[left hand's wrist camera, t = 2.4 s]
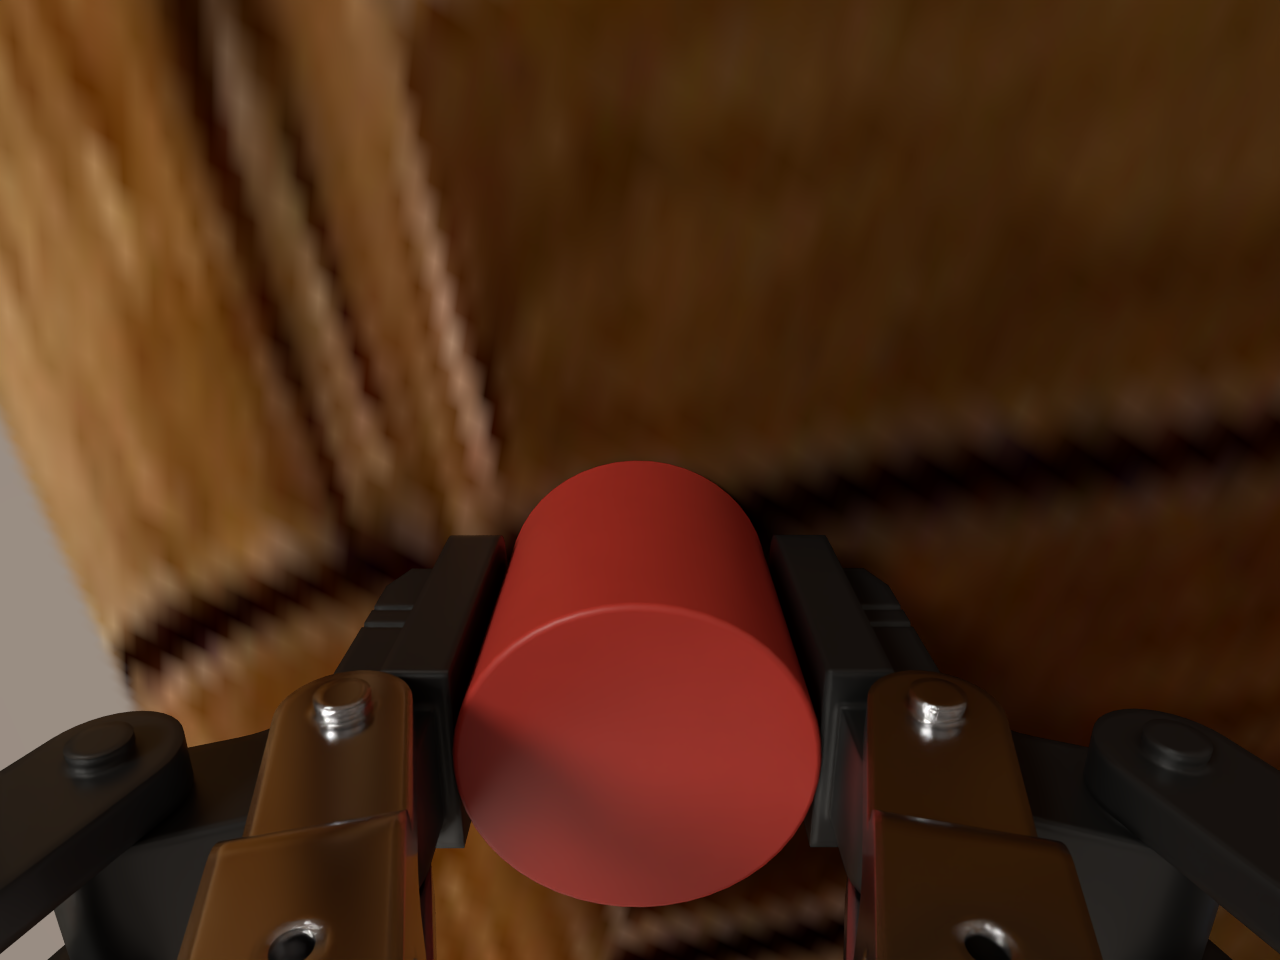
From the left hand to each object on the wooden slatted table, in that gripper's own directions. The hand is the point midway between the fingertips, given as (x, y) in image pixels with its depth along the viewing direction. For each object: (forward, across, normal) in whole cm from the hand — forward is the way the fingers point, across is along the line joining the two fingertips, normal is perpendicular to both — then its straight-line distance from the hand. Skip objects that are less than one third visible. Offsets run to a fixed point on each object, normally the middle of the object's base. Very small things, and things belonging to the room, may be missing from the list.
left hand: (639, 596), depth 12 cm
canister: (+1, 0, 0) cm, 1 cm away
